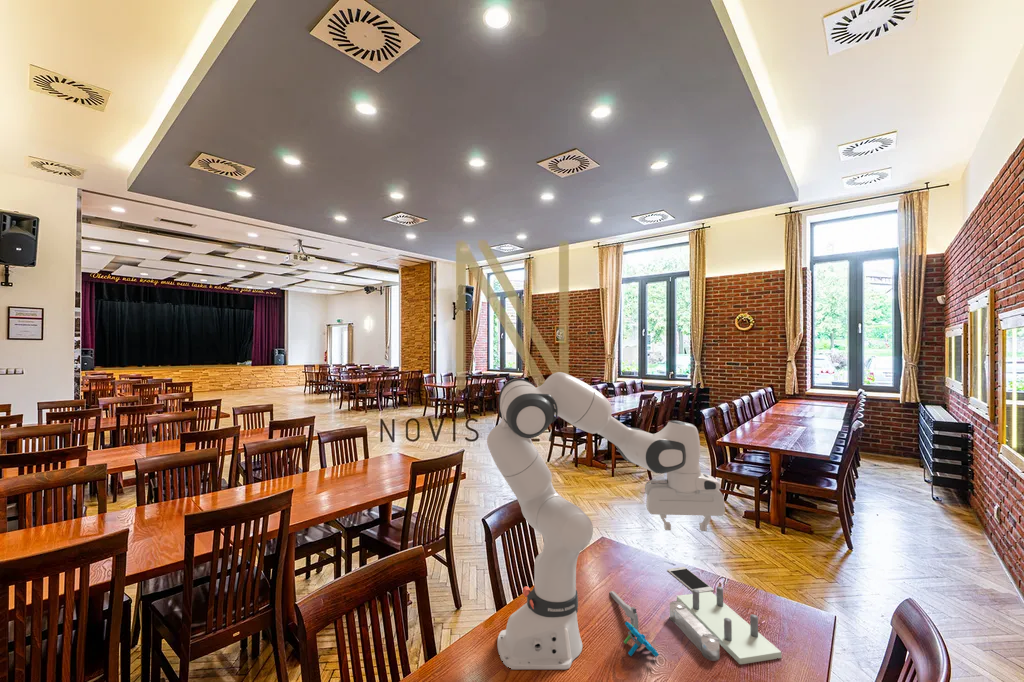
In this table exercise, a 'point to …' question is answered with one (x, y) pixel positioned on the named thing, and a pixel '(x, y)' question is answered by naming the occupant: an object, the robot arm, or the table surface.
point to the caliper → (627, 609)
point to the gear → (638, 640)
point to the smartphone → (690, 579)
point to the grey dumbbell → (695, 631)
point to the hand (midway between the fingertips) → (685, 530)
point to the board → (739, 630)
